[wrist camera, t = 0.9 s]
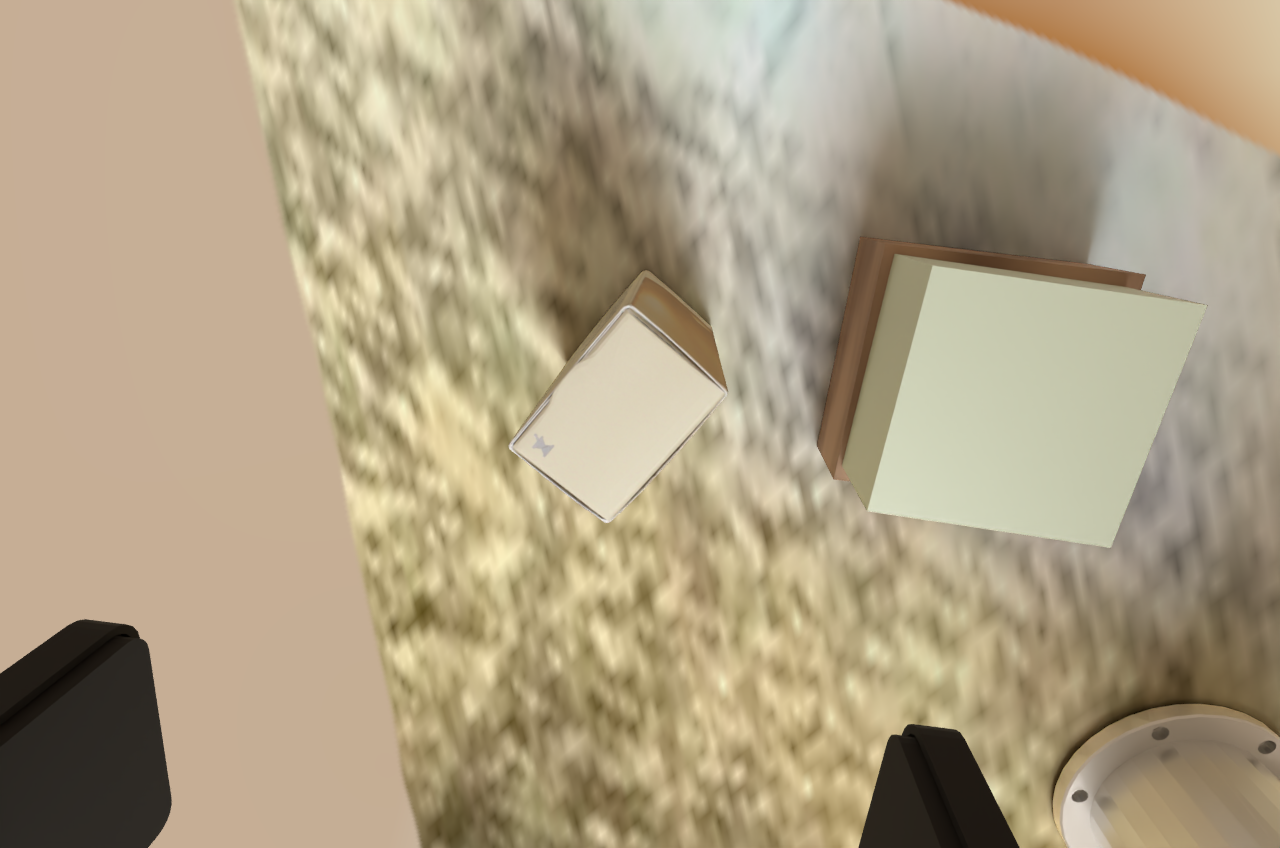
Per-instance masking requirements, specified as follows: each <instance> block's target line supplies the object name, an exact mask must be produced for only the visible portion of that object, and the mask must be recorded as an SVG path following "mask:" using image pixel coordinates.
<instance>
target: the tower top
mask: <svg viewBox="0 0 1280 848" xmlns="http://www.w3.org/2000/svg"><path fill="white" fill-rule="evenodd" d="M1207 306H1208V305H1204V304H1200V303H1195V302H1191V301H1186V300H1182V299H1178V298H1173V297H1169V296H1164V295H1160V294H1155V293H1151V292H1146V291H1142V290H1137V289H1133V288H1128V287H1122V286H1115V285H1108V284H1102V283H1095V282H1088V281H1081V280H1074V279H1067V278H1060V277H1053V276H1046V275H1039V274H1032V273H1025V272H1018V271H1011V270H1004V269H997V268H990V267H983V266H977V265H970V264H963V263H956V262H949V261H942V260H935V259H928V258H921V257H914V256H907V255H900V254H894V258H893V262H892V266H891V270H890V274H889V278H888V282H887V286H886V290H885V294H884V298H883V302H882V306H881V310H880V314H879V318H878V322H877V326H876V330H875V334H874V338H873V342H872V346H871V350H870V354H869V358H868V362H867V367H866V371H865V375H864V379H863V383H862V387H861V391H860V395H859V399H858V403H857V407H856V411H855V415H854V419H853V423H852V427H851V431H850V435H849V439H848V443H847V447H846V451H845V455H844V459H843V463H842V467H843V469H844V470H845V472H846V474H847V476H848V478H849V479H850V481H851V483H852V485H853V487H854V488H855V490H856V492H857V494H858V496H859V497H860V499H861V501H862V503H863V505H864V506H865V508H866V510H867V511H869V512H876V513H882V514H889V515H895V516H902V517H909V518H915V519H922V520H929V521H935V522H942V523H948V524H955V525H962V526H968V527H975V528H981V529H988V530H995V531H1001V532H1008V533H1015V534H1021V535H1028V536H1034V537H1041V538H1048V539H1054V540H1061V541H1068V542H1074V543H1081V544H1087V545H1094V546H1101V547H1107V548H1111V546H1112V544H1113V541H1114V539H1115V536H1116V534H1117V531H1118V529H1119V526H1120V524H1121V521H1122V519H1123V516H1124V514H1125V511H1126V509H1127V506H1128V504H1129V501H1130V499H1131V496H1132V494H1133V491H1134V489H1135V486H1136V484H1137V481H1138V479H1139V476H1140V474H1141V471H1142V469H1143V466H1144V464H1145V461H1146V459H1147V456H1148V454H1149V451H1150V449H1151V446H1152V444H1153V441H1154V439H1155V436H1156V434H1157V431H1158V429H1159V426H1160V423H1161V421H1162V418H1163V416H1164V413H1165V411H1166V408H1167V406H1168V403H1169V401H1170V398H1171V396H1172V393H1173V391H1174V388H1175V386H1176V383H1177V381H1178V378H1179V376H1180V373H1181V371H1182V368H1183V366H1184V363H1185V361H1186V358H1187V356H1188V353H1189V351H1190V348H1191V346H1192V343H1193V341H1194V338H1195V336H1196V333H1197V331H1198V328H1199V326H1200V323H1201V321H1202V318H1203V316H1204V313H1205V311H1206V308H1207Z"/></svg>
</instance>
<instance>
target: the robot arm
mask: <svg viewBox="0 0 1280 848" xmlns="http://www.w3.org/2000/svg"><path fill="white" fill-rule="evenodd" d="M170 810H171V792H170V786H169V779H168V773H167V766H166V759H165V752H164V746H163V739H162V732H161V726H160V719H159V713H158V706H157V699H156V694H155V687H154V679H153V673H152V666H151V660H150V654H149V648H148V645H147V643H146V642H145V641H144V640H142V639H140V637H139V634H138V631H137V630H136V629H135V628H134V627H133V626H129V625H126V624H117V623H110V622H101V621H94V620H86V619H85V620H79V621H76V622H74V623H72V624H70V625H68V626H67V627H65V628H64V629H62V630H61V631H60V632H58V633H57V634H55V635H54V636H52V637H51V638H50V639H48V640H47V641H46V642H44V643H43V644H41V645H40V646H38V647H37V648H36V649H34V650H33V651H31V652H30V653H29V654H27V655H26V656H24V657H23V658H22V659H20V660H19V661H17V662H16V663H15V664H13V665H12V666H11V667H9V668H7V669H6V670H5V671H3V672H2V673H0V848H148V847H149V846H150V845H151V843H152V842H153V841H154V840H155V838H156V837H157V836H158V835H159V833H160V832H161V830H162V829H163V827H164V825H165V823H166V821H167V819H168V816H169V813H170ZM1053 815H1054V820H1055V823H1056V826H1057V829H1058V832H1059V834H1060V836H1061V837H1062V839H1063V841H1064V842H1065V844H1066V846H1067V848H1280V737H1279V736H1278V735H1277V734H1276V733H1274V732H1273V731H1272V730H1271V729H1270V728H1268V727H1267V726H1266V725H1265V724H1264V723H1262V722H1261V721H1259V720H1257V719H1255V718H1253V717H1251V716H1249V715H1247V714H1245V713H1243V712H1239V711H1236V710H1233V709H1229V708H1226V707H1222V706H1214V705H1206V704H1176V705H1170V706H1164V707H1158V708H1152V709H1149V710H1145V711H1142V712H1139V713H1136V714H1133V715H1130V716H1127V717H1125V718H1123V719H1121V720H1119V721H1117V722H1115V723H1113V724H1111V725H1109V726H1107V727H1106V728H1104V729H1103V730H1101V731H1100V732H1098V733H1097V734H1095V735H1094V736H1092V737H1091V738H1090V739H1089V740H1088V741H1086V742H1085V743H1084V744H1083V745H1082V746H1081V747H1080V748H1079V749H1078V750H1077V751H1076V752H1075V753H1074V754H1073V756H1072V757H1071V759H1070V760H1069V761H1068V763H1067V764H1066V765H1065V767H1064V768H1063V770H1062V772H1061V775H1060V777H1059V779H1058V781H1057V784H1056V786H1055V792H1054V797H1053ZM859 848H1019V846H1018V844H1017V842H1016V840H1015V838H1014V836H1013V834H1012V832H1011V830H1010V828H1009V826H1008V824H1007V822H1006V820H1005V818H1004V816H1003V814H1002V812H1001V810H1000V808H999V806H998V804H997V802H996V800H995V798H994V796H993V794H992V792H991V790H990V788H989V786H988V784H987V782H986V780H985V778H984V776H983V774H982V772H981V770H980V768H979V766H978V764H977V763H976V761H975V759H974V757H973V755H972V753H971V751H970V749H969V747H968V745H967V743H966V741H965V739H964V738H963V736H962V735H961V733H960V732H958V731H957V730H954V729H946V728H938V727H930V726H922V725H915V724H910V725H907V726H906V728H905V729H904V731H903V734H902V736H901V735H891V736H890V738H889V740H888V742H887V746H886V749H885V753H884V757H883V760H882V764H881V767H880V771H879V775H878V778H877V782H876V786H875V789H874V793H873V797H872V800H871V804H870V808H869V811H868V815H867V819H866V822H865V826H864V830H863V833H862V837H861V840H860V844H859Z"/></svg>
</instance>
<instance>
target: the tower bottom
mask: <svg viewBox="0 0 1280 848" xmlns="http://www.w3.org/2000/svg"><path fill="white" fill-rule="evenodd" d="M894 254H900V255H907V256H914V257H921V258H928V259H935V260H942V261H949V262H956V263H963V264H970V265H977V266H983V267H990V268H997V269H1004V270H1011V271H1018V272H1025V273H1032V274H1039V275H1046V276H1053V277H1060V278H1067V279H1074V280H1081V281H1088V282H1095V283H1102V284H1108V285H1115V286H1122V287H1128V288H1133V289H1137V290H1141V288H1142V285H1143V282H1144V279H1145V276H1146V275H1145V274H1139V273H1134V272H1129V271H1123V270H1118V269H1112V268H1107V267H1101V266H1096V265H1091V264H1084V263H1076V262H1067V261H1059V260H1051V259H1042V258H1034V257H1026V256H1017V255H1009V254H1000V253H992V252H984V251H975V250H967V249H959V248H950V247H942V246H934V245H925V244H917V243H908V242H900V241H892V240H883V239H875V238H867V237H860V240H859V245H858V250H857V255H856V260H855V265H854V269H853V274H852V279H851V284H850V289H849V294H848V298H847V303H846V308H845V313H844V318H843V322H842V327H841V332H840V337H839V342H838V347H837V351H836V356H835V361H834V366H833V371H832V376H831V380H830V385H829V390H828V395H827V400H826V405H825V409H824V414H823V419H822V424H821V429H820V433H819V438H818V443H817V447H818V449H819V451H820V453H821V455H822V457H823V459H824V461H825V463H826V465H827V467H828V469H829V471H830V473H831V475H832V477H833V479H835V480H843V481H850V479H849V478H848V476H847V474H846V472H845V470H844V469H843V467H842V463H843V459H844V455H845V451H846V447H847V443H848V439H849V435H850V431H851V427H852V423H853V419H854V415H855V411H856V407H857V403H858V399H859V395H860V391H861V387H862V383H863V379H864V375H865V371H866V367H867V362H868V358H869V354H870V350H871V346H872V342H873V338H874V334H875V330H876V326H877V322H878V318H879V314H880V310H881V306H882V302H883V298H884V294H885V290H886V286H887V282H888V278H889V274H890V270H891V266H892V262H893V258H894Z"/></svg>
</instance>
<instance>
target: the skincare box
mask: <svg viewBox="0 0 1280 848" xmlns="http://www.w3.org/2000/svg"><path fill="white" fill-rule="evenodd" d="M727 395H728V390H727V386H726V382H725V378H724V374H723V370H722V366H721V363H720V359H719V354H718V350H717V346H716V343H715V339H714V335H713V331H712V327H711V326H710V325H709V324H708V323H707V322H706V321H705V320H704V319H703V318H702V317H701V316H700V315H698V314H697V313H696V312H695V311H694V310H693V309H692V308H691V307H690V306H689V305H688V304H686V303H685V302H684V301H683V300H682V299H681V298H680V297H679V296H678V295H677V294H675V293H674V292H673V291H672V290H671V289H670V288H669V287H667V286H666V285H665V284H664V283H663V282H662V281H660V280H659V279H658V278H657V277H656V276H655V275H653V274H652V273H651V272H650V271H647V270H645V271H642V272H641V273H640V274H639V275H638V277H637V278H636V279H635V280H634V281H633V282H632V283H631V284H630V286H629V287H628V288H627V289H626V290H625V291H624V292H623V294H622V295H621V296H620V297H619V298H618V299H617V301H616V302H615V303H614V304H613V305H612V307H611V308H610V309H609V310H608V311H607V313H606V314H605V315H604V316H603V317H602V319H601V320H600V321H599V322H598V324H597V325H596V326H595V327H594V328H593V330H592V331H591V332H590V334H589V335H588V336H587V337H586V339H585V340H584V341H583V342H582V344H581V345H580V346H579V347H578V349H577V350H576V351H575V353H574V354H573V355H572V357H571V358H570V359H569V361H568V362H567V363H566V365H565V366H564V368H563V369H562V370H561V372H560V373H559V375H558V376H557V378H556V379H555V380H554V382H553V383H552V385H551V386H550V387H549V389H548V390H547V391H546V393H545V394H544V396H543V397H542V398H541V400H540V401H539V402H538V404H537V405H536V406H535V408H534V409H533V410H532V412H531V413H530V415H529V416H528V418H527V419H526V420H525V422H524V423H523V425H522V426H521V427H520V429H519V430H518V432H517V433H516V435H515V436H514V438H513V439H512V440H511V442H510V443H509V449H510V450H511V451H513V452H514V453H515V454H516V455H518V456H519V457H520V458H522V459H523V460H524V461H525V462H526V463H527V464H529V465H530V466H531V467H532V468H534V469H535V470H536V471H538V472H539V473H540V474H541V475H542V476H543V477H545V478H546V479H547V480H549V481H550V482H551V483H552V484H554V485H555V486H556V487H557V488H559V489H560V490H561V491H562V492H564V493H565V494H566V495H568V496H569V497H570V498H571V499H573V500H574V501H575V502H577V503H578V504H579V505H581V506H582V507H583V508H585V509H586V510H588V511H589V512H591V513H592V514H594V515H595V516H596V517H597V518H599V519H600V520H602V521H603V522H605V523H609V522H611V521H612V520H613V519H614V518H615V517H616V516H617V515H618V514H619V513H621V512H622V511H623V510H624V509H625V508H626V507H627V506H628V505H629V504H630V503H631V502H632V501H633V500H634V499H635V498H636V497H637V496H638V495H639V494H640V493H641V492H642V491H643V490H644V489H645V488H646V487H647V486H648V485H649V483H650V482H651V481H652V480H653V479H654V478H655V477H656V476H657V475H658V474H659V473H660V471H661V470H662V469H663V468H664V467H665V466H666V465H667V464H668V463H669V462H670V461H671V459H672V458H673V457H674V456H675V455H676V454H677V453H678V452H679V451H680V450H681V448H682V447H683V446H684V445H685V444H686V443H687V442H688V441H689V439H690V438H691V437H692V436H693V435H694V434H695V433H696V431H697V430H698V429H699V428H700V427H701V426H702V424H703V423H704V422H705V421H706V420H707V419H708V418H709V416H710V415H711V414H712V413H713V412H714V410H715V409H716V408H717V407H718V406H719V404H720V403H721V402H722V401H723V400H724V399H725V397H726V396H727Z"/></svg>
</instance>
